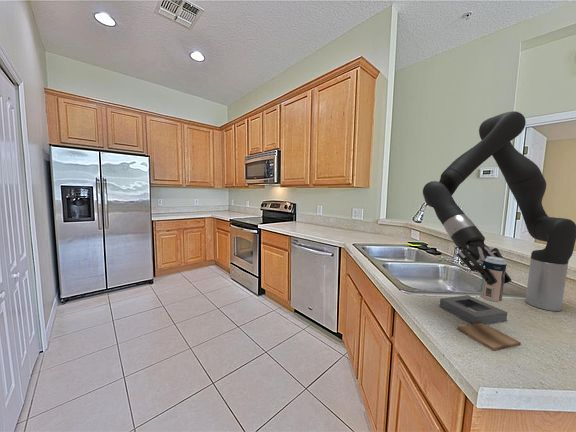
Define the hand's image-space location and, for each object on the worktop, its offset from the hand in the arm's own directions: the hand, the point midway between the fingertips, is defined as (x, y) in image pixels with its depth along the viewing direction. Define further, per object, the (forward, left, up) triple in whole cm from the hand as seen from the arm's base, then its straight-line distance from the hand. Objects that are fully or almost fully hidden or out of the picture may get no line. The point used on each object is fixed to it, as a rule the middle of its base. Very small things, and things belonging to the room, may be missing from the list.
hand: (500, 282), depth 64 cm
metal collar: (-9, -13, -17) cm, 23 cm away
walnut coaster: (0, -2, -17) cm, 17 cm away
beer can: (0, -2, -6) cm, 6 cm away
